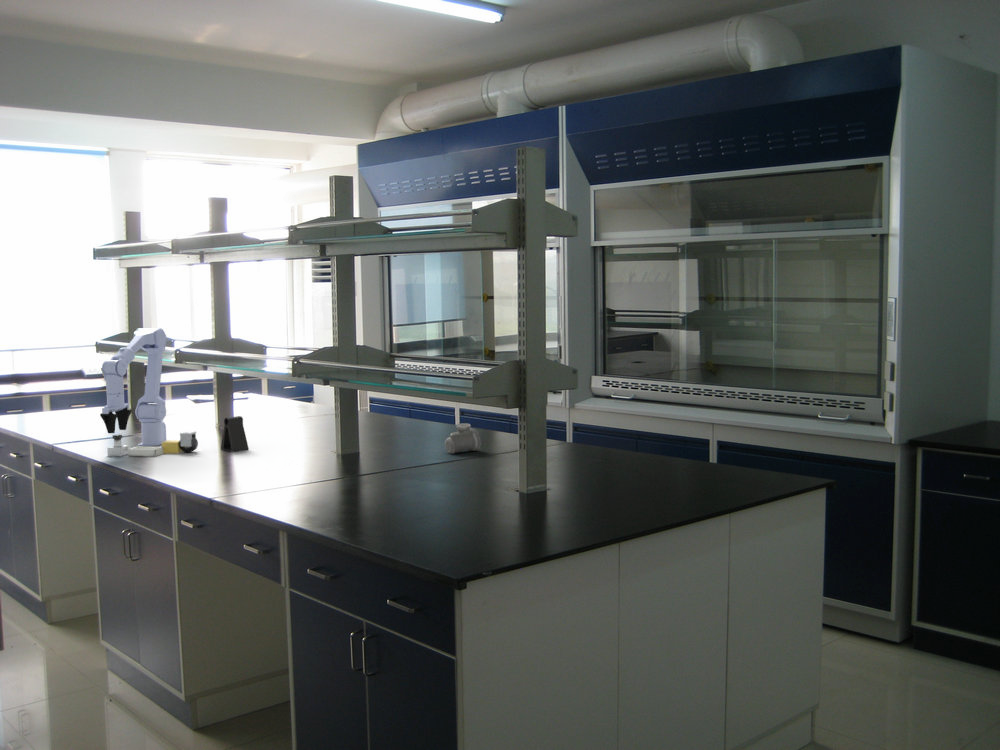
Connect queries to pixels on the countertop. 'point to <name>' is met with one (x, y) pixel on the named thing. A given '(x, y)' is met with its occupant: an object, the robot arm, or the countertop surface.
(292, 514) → the countertop surface
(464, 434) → the pipe fitting
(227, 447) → the phone stand
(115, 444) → the stop pin
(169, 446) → the block
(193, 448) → the castor
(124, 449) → the socket block
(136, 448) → the tray
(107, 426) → the robot arm
